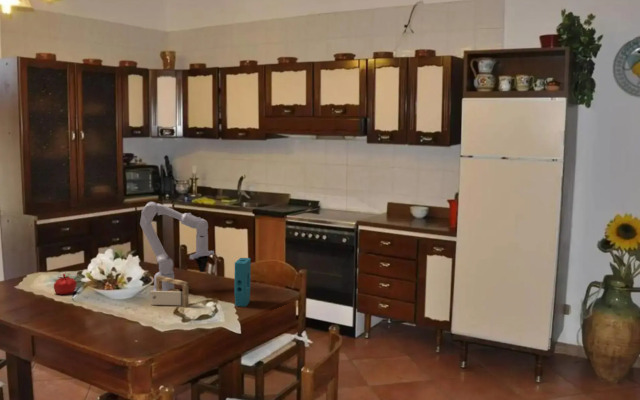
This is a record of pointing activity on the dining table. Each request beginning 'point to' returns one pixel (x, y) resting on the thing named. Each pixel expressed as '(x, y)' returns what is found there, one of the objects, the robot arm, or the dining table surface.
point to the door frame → (174, 281)
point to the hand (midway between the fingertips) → (202, 271)
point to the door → (166, 297)
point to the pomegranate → (65, 285)
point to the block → (242, 281)
